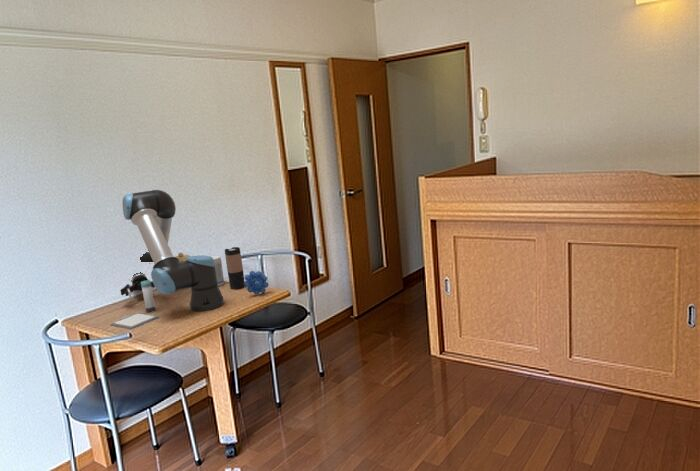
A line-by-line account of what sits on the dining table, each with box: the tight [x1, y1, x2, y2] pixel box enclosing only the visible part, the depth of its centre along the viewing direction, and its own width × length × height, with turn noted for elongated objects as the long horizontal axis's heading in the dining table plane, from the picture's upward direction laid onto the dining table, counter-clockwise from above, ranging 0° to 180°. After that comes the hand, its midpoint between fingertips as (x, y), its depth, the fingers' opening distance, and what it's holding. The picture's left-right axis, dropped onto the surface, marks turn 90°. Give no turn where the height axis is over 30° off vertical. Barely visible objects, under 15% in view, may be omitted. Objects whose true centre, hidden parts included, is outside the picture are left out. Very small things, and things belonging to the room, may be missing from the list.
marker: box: [141, 279, 156, 313], centre depth 239 cm, size 4×4×14 cm
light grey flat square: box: [110, 312, 160, 330], centre depth 228 cm, size 14×14×1 cm
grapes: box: [244, 270, 269, 296], centre depth 247 cm, size 12×7×12 cm, turn 116°
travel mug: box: [224, 246, 246, 291], centre depth 263 cm, size 8×8×20 cm
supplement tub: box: [209, 255, 225, 287], centre depth 272 cm, size 10×10×15 cm
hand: (145, 291), depth 246 cm, fingers open, 13 cm apart
